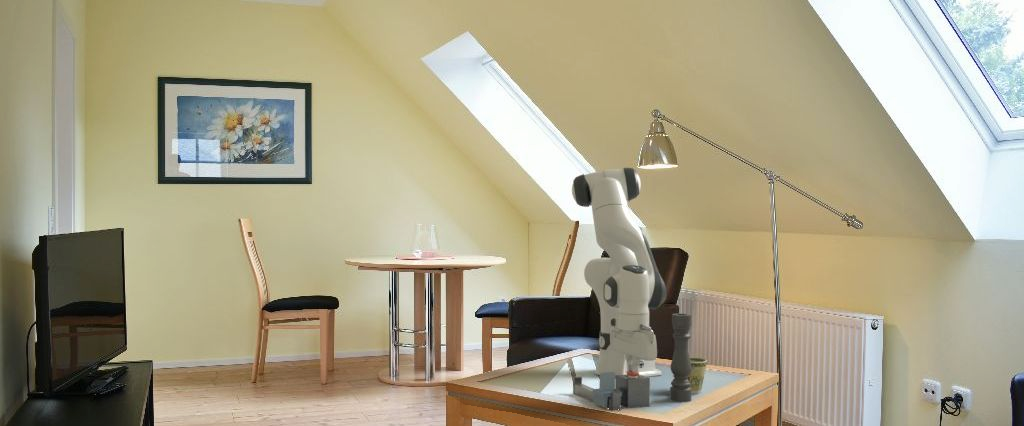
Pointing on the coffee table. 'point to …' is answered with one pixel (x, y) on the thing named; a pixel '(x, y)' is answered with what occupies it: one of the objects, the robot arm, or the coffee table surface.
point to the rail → (588, 394)
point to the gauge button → (632, 374)
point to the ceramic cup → (697, 374)
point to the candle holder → (681, 358)
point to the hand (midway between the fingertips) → (632, 371)
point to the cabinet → (633, 391)
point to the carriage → (605, 388)
